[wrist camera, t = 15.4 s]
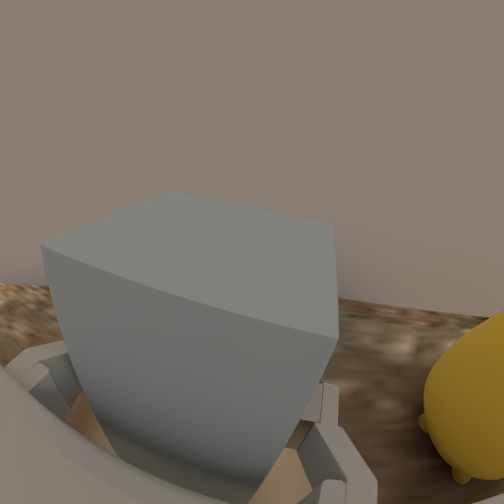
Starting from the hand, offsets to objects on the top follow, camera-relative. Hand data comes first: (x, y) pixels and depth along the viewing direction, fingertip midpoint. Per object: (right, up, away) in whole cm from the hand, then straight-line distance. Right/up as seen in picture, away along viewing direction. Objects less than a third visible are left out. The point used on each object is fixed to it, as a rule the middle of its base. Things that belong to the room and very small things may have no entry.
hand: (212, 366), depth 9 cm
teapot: (+24, -14, +8) cm, 28 cm away
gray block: (-1, -5, +1) cm, 5 cm away
